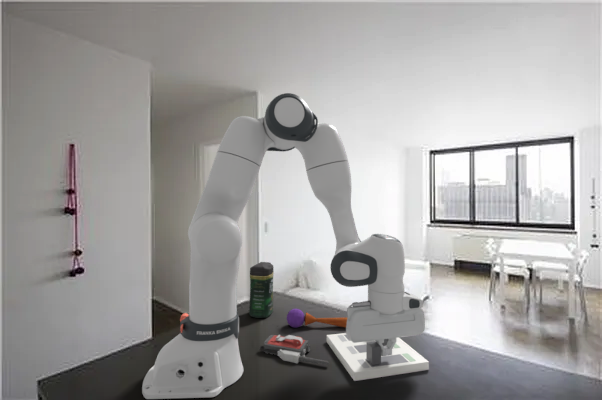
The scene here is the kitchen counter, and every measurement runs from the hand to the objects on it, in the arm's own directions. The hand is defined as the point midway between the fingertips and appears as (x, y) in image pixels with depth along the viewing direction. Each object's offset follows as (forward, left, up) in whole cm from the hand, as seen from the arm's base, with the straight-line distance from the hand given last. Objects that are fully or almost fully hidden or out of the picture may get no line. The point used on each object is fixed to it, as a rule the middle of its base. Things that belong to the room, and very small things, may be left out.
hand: (385, 354), depth 78 cm
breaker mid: (+4, +7, -1) cm, 8 cm away
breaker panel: (0, +7, -4) cm, 8 cm away
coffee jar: (-26, +43, -4) cm, 50 cm away
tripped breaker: (-3, 0, -1) cm, 4 cm away
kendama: (-9, +28, -4) cm, 30 cm away
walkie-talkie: (-20, +12, -4) cm, 24 cm away
